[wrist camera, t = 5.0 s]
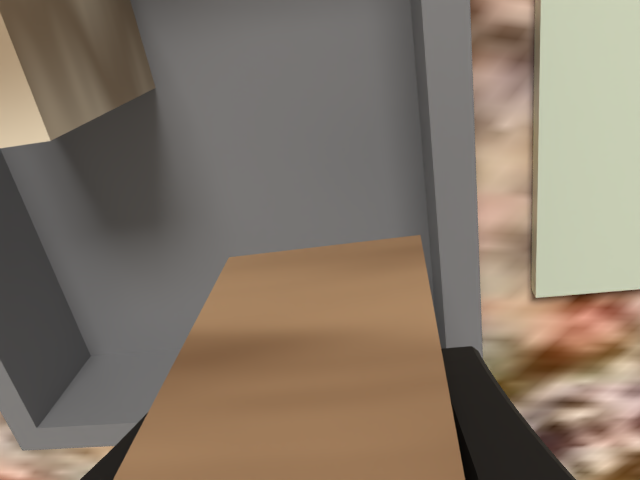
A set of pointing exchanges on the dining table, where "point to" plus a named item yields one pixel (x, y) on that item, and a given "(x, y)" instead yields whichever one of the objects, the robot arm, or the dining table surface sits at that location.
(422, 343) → the walnut block
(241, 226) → the bin
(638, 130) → the board
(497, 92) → the dining table surface
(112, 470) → the robot arm
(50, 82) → the birch block
